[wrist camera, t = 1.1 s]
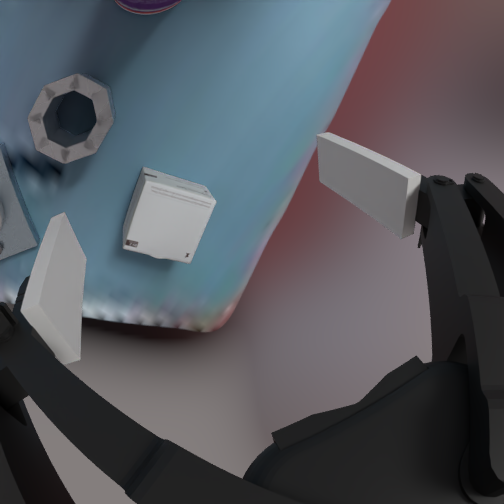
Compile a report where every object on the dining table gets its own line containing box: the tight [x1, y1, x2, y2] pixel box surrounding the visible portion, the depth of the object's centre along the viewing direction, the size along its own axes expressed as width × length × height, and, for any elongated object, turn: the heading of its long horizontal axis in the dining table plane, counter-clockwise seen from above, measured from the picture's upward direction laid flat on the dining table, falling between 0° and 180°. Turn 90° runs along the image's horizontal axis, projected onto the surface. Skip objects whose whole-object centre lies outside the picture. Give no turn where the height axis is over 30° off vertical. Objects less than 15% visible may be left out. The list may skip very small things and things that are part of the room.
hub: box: [28, 73, 116, 164], centre depth 24 cm, size 7×7×6 cm
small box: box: [123, 167, 216, 264], centre depth 33 cm, size 8×8×5 cm
